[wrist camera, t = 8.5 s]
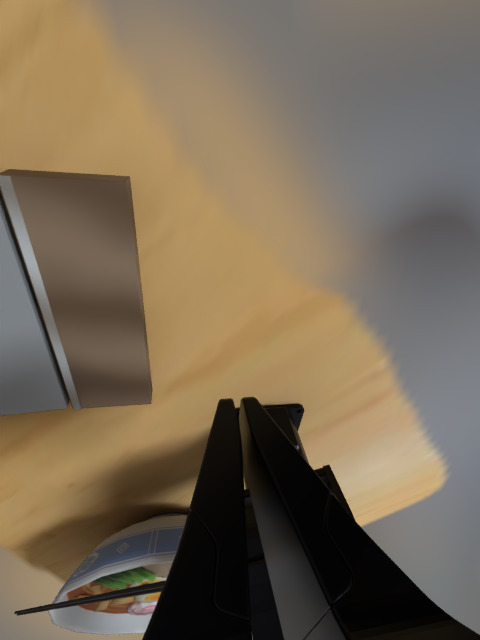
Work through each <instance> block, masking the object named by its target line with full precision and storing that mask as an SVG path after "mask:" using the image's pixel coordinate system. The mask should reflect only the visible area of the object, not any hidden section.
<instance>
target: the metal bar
mask: <svg viewBox="0 0 480 640" xmlns="http://www.w3.org/2000/svg"><path fill="white" fill-rule="evenodd" d="M0 190H1V193H2V196H3V199H4V202H5V205H6V208H7V211H8V214H9V217H10V220H11V224H12V227H13V230H14V233H15V236H16V239H17V242H18V245H19V248H20V251H21V254H22V257H23V260H24V263H25V266H26V269H27V272H28V275H29V278H30V281H31V284H32V287H33V290H34V293H35V296H36V299H37V302H38V305H39V308H40V311H41V314H42V317H43V320H44V323H45V326H46V329H47V332H48V335H49V338H50V341H51V344H52V347H53V350H54V353H55V356H56V359H57V362H58V365H59V369H60V372H61V375H62V378H63V381H64V384H65V387H66V390H67V393H68V396H69V399H70V402H71V405H72V408H73V409H74V410H81V409H82V408H95V407H111V406H127V405H142V404H151V399H152V382H151V373H150V363H149V354H148V344H147V335H146V325H145V316H144V306H143V297H142V287H141V278H140V268H139V259H138V249H137V240H136V230H135V221H134V212H133V202H132V193H131V183H130V177H129V176H113V175H96V174H79V173H63V172H46V171H30V170H13V169H9V170H6V171H4V172H1V173H0Z"/></svg>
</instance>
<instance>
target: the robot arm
mask: <svg viewBox="0 0 480 640" xmlns="http://www.w3.org/2000/svg"><path fill="white" fill-rule="evenodd" d="M303 413H304V408H303V406H302V405H301V404H295V405H281V406H266V407H263V406H262V405H261V404H260V403H259V402H258V400H257V399H256V398H255V397H245V398H242V399H241V404H240V408H239V409H237V410H235V405H234V401H233V399H231V398H230V399H220V400H219V403H218V406H217V410H216V413H215V417H214V421H213V424H212V428H211V432H210V435H209V439H208V443H207V446H206V450H205V454H204V457H203V461H202V464H201V468H200V472H199V475H198V479H197V483H196V486H195V490H194V494H193V497H192V501H191V505H190V508H189V512H188V515H187V519H186V522H185V526H184V529H183V533H182V536H181V539H180V542H179V546H178V549H177V552H176V555H175V557H174V560H173V563H172V565H171V568H170V571H169V574H168V576H167V579H166V581H165V584H164V586H163V589H162V591H161V594H160V596H159V599H158V601H157V604H156V606H155V609H154V611H153V614H152V616H151V619H150V621H149V624H148V626H147V629H146V631H145V634H144V637H143V639H142V640H252V635H253V640H480V635H479V634H477V633H476V632H474V631H473V630H471V629H469V628H468V627H466V626H465V625H463V624H462V623H460V622H458V621H457V620H455V619H454V618H453V617H451V616H450V615H449V614H447V613H445V612H444V611H443V610H442V609H441V608H440V607H438V606H437V605H436V604H435V603H434V602H433V601H431V600H430V599H429V598H428V597H427V596H426V595H425V594H424V593H423V592H422V591H421V590H420V589H419V588H418V587H417V586H416V585H415V584H414V583H413V581H412V580H411V579H409V577H408V576H407V575H406V574H405V573H404V572H403V571H402V570H401V569H400V568H399V567H398V566H397V565H396V564H395V563H394V562H393V561H392V560H391V559H390V558H389V557H388V556H387V554H386V553H385V552H384V551H383V550H382V549H381V548H380V547H379V546H378V545H377V544H376V543H375V542H374V541H373V540H372V539H371V538H370V537H369V536H368V535H367V533H366V532H365V531H364V530H363V529H362V528H361V527H360V526H359V525H358V524H357V522H356V521H355V519H354V517H353V514H352V512H351V510H350V508H349V505H348V503H347V501H346V499H345V497H344V495H343V493H342V491H341V489H340V486H339V484H338V482H337V480H336V478H335V476H334V474H333V472H332V470H331V468H330V465H326V466H323V468H320V469H316V470H313V469H312V467H311V466H310V465H309V462H308V460H307V457H306V454H305V451H304V448H303V445H302V443H301V440H300V437H299V434H298V429H299V426H300V422H301V419H302V416H303ZM244 482H245V488H246V490H244Z"/></svg>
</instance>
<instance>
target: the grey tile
mask: <svg viewBox="0 0 480 640" xmlns="http://www.w3.org/2000/svg"><path fill="white" fill-rule="evenodd" d="M69 401H70V399H69V396H68V393H67V390H66V387H65V384H64V381H63V378H62V375H61V372H60V369H59V365H58V362H57V359H56V356H55V353H54V350H53V347H52V344H51V341H50V338H49V335H48V332H47V329H46V326H45V323H44V320H43V317H42V314H41V311H40V308H39V305H38V302H37V299H36V296H35V293H34V290H33V287H32V284H31V281H30V278H29V275H28V272H27V269H26V266H25V263H24V260H23V257H22V254H21V251H20V248H19V245H18V242H17V239H16V236H15V233H14V230H13V227H12V224H11V220H10V217H9V214H8V211H7V208H6V205H5V202H4V199H3V196H2V193H1V190H0V416H3V415H12V414H21V413H30V412H39V411H48V410H57V409H66V408H68V404H69Z"/></svg>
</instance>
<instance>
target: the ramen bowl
mask: <svg viewBox="0 0 480 640" xmlns="http://www.w3.org/2000/svg"><path fill="white" fill-rule="evenodd" d="M186 519H187V515H186V514H180V513H172V514H163V515H159V516H155V517H152V518H150V519H148V520H146V521H143V522H140V523H136V524H133V525H131V526H129V527H127V528H125V529H123V530H121V531H119V532H117V533H115V534H113V535H111V536H110V537H108V538H107V539H105V540H104V541H102V542H101V543H100V544H99V545H98V546H97V547H96V548H95V549H94V550H93V551H92V552H91V553H90V554H89V555H88V556H87V558H86V559H85V560H84V561H83V562H82V563H81V565H80V566H79V567H78V568H77V569H76V571H75V572H74V573H73V574H72V576H71V577H70V578H69V580H68V581H67V582H66V583H65V585H64V586H63V587H62V589H61V590H60V592H59V593H58V595H57V596H56V598H55V600H54V601H53V603H52V604H49V605H45V606H40V607H35V608H30V609H26V610H20V611H16V612H15V614H16V613H17V615H23V614H29V613H36V612H42V611H48V612H49V615H50V617H51V620H52V623H53V624H55V625H58V626H60V627H63V628H65V629H68V630H71V631H74V632H80V633H90V634H102V635H114V634H133V633H145V631H146V629H147V626H148V624H149V621H150V619H151V616H152V614H153V611H154V609H155V606H156V604H157V601H158V599H159V596H160V594H161V591H162V589H163V586H164V584H165V581H166V579H167V576H168V574H169V571H170V568H171V565H172V563H173V560H174V557H175V555H176V552H177V549H178V546H179V542H180V539H181V536H182V533H183V529H184V526H185V522H186Z"/></svg>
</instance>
